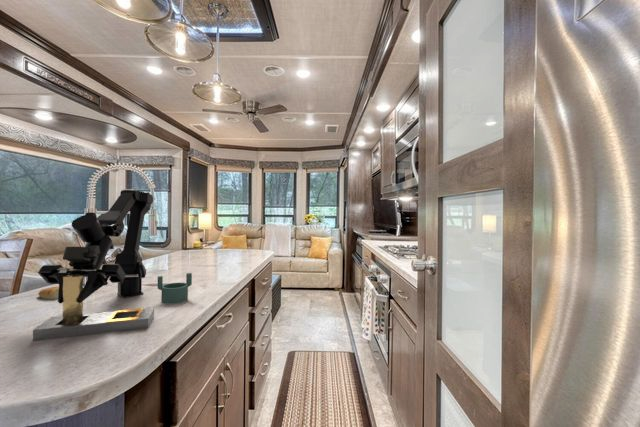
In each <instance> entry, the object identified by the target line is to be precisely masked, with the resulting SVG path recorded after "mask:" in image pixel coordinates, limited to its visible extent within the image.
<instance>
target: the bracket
mask: <svg viewBox="0 0 640 427" xmlns="http://www.w3.org/2000/svg"><path fill="white" fill-rule="evenodd" d="M192 273H193V272H188V273H186V276H185V277H186V281H185V282H171V283H167V284H163V282H164V281H163V278H164V277H163V275H158V276H157V289H158V290H159V291H161V298H160V299H161V303H162V304H165V305H166V304H169V305H171V304H172V305H173V304H179V303H180V304H181V303H183V302H186V301H188V299H189V287H191V286H192V282H193V278H192V276H193V274H192Z"/></svg>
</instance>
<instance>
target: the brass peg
mask: <svg viewBox="0 0 640 427" xmlns="http://www.w3.org/2000/svg"><path fill="white" fill-rule="evenodd" d="M83 288H84V277H83V275H82V274H75V275H67V276H64V277H63V302H62V316H63V325H65V324H75V323H82V322H83V314H84V312H83V310H84V301H82V302H81V303H79V302H78V298H79V295H80V293H81V292H82V290H83Z"/></svg>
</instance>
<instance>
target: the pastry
mask: <svg viewBox="0 0 640 427" xmlns="http://www.w3.org/2000/svg"><path fill="white" fill-rule="evenodd" d="M58 294H59V285H58V286H52V287H48V288H45V289H41V290H40V291H39V292H38V296H39V297H40V298H42V299H45V300H52V301H53V300H58Z"/></svg>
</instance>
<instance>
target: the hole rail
mask: <svg viewBox="0 0 640 427" xmlns="http://www.w3.org/2000/svg"><path fill="white" fill-rule="evenodd" d="M154 318H155V307H151V308H144V307H142V308H131V309H121V310H115V311H105V312H94V313H83V322H82V323H75V324H65V325H63V315H59V316H51V317H50V318H48V319H47V320H45V321H44V322H43V323H42V322H41V324H39V325H38V326H36V327H35V328H34V329H32V341H40V340H42V341H43V340H49V339H50V340H51V339H60V338H68V337H69V338H70V337H77V336H85V335H87V336H88V335H96V334H97V335H98V334H107V333H115V332H123V331H133V330H142V329H149V327H150V325H151V323H152V322H153V319H154Z"/></svg>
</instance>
